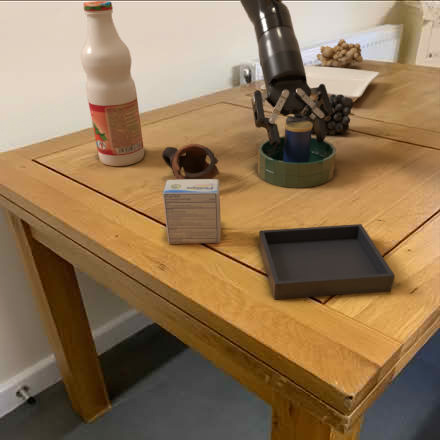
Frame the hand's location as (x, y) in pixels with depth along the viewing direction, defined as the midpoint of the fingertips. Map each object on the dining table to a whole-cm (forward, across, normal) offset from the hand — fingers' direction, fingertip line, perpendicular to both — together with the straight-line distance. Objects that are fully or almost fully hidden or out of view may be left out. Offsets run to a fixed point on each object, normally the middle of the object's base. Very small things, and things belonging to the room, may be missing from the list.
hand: (299, 143), depth 85 cm
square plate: (-32, +28, +41) cm, 60 cm away
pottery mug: (+2, -20, +7) cm, 21 cm away
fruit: (-10, +14, +20) cm, 26 cm away
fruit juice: (-9, -31, +19) cm, 38 cm away
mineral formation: (-50, +47, +59) cm, 91 cm away
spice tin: (+3, 0, +5) cm, 6 cm away
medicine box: (+16, -23, -7) cm, 29 cm away
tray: (+25, -8, -16) cm, 31 cm away
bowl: (+4, 0, +5) cm, 6 cm away
